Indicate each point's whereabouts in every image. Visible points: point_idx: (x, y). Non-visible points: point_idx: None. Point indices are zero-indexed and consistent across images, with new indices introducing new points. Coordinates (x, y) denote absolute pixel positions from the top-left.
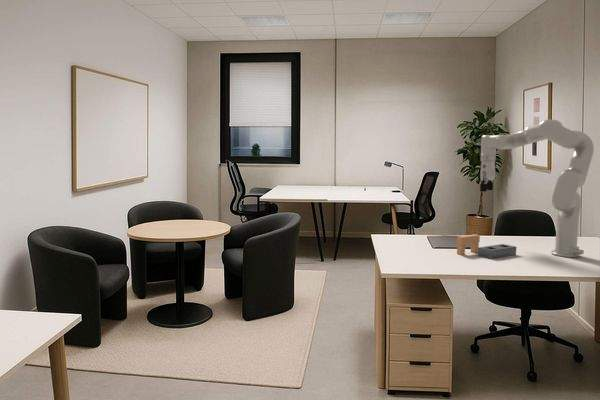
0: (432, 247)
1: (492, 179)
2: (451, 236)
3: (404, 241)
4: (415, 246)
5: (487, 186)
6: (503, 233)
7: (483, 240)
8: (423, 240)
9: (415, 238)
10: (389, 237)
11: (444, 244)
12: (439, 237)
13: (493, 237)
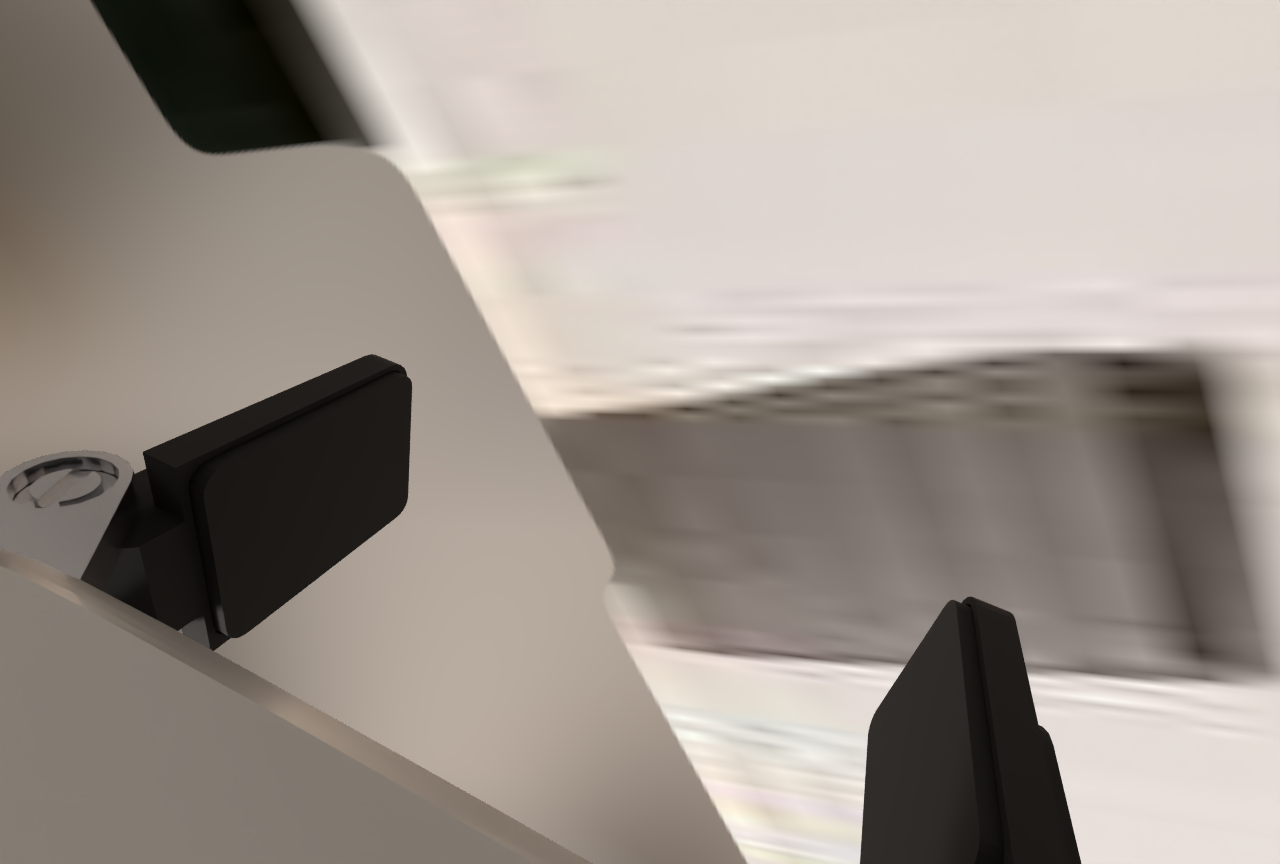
0: (1214, 678)
1: (283, 708)
2: (606, 500)
3: None
4: (1186, 781)
5: (335, 545)
6: (261, 106)
7: (672, 258)
8: (866, 691)
9: (799, 724)
10: (825, 848)
11: (1013, 576)
12: (688, 580)
13: (482, 177)
